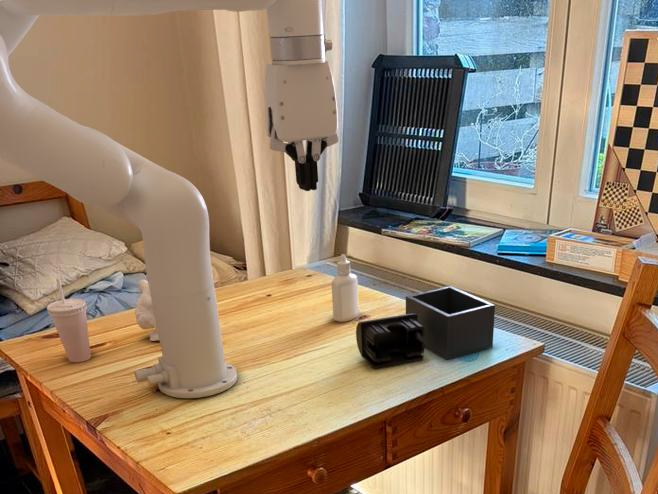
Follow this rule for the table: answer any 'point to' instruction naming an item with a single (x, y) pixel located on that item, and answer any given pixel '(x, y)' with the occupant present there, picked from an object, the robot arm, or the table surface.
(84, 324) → the smoothie
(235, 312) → the table surface
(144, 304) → the koala figurine
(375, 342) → the end cap
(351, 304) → the eye dropper bottle
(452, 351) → the box
